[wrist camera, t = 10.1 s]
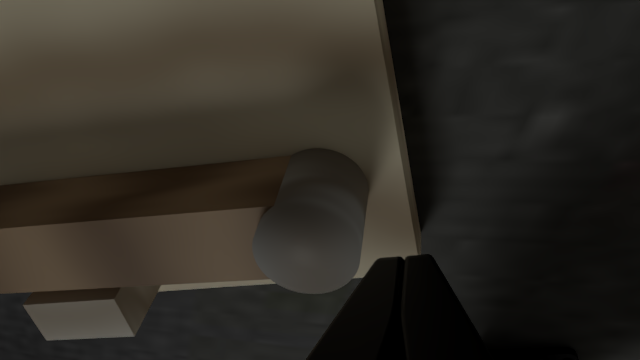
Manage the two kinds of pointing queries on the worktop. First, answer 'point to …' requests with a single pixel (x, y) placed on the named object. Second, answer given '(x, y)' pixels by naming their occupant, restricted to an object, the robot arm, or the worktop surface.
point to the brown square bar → (189, 226)
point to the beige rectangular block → (197, 111)
